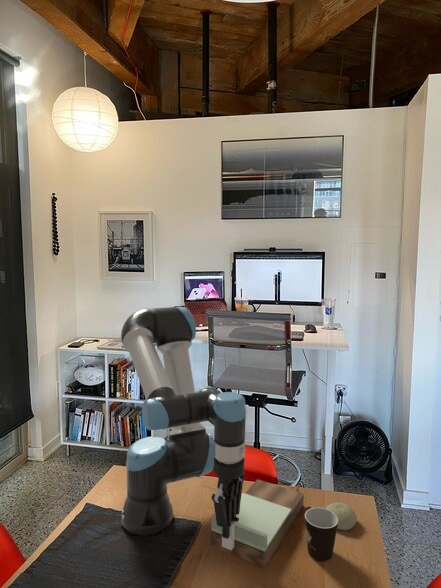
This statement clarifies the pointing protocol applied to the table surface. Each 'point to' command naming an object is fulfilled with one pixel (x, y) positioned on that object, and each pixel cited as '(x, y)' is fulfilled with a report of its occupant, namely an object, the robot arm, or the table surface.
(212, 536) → the brown wooden shallow box
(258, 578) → the table surface
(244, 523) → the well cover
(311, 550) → the coffee mug
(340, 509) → the sea urchin shell
